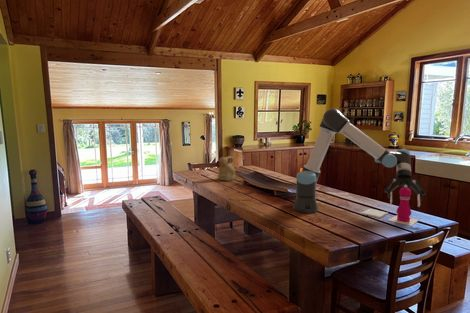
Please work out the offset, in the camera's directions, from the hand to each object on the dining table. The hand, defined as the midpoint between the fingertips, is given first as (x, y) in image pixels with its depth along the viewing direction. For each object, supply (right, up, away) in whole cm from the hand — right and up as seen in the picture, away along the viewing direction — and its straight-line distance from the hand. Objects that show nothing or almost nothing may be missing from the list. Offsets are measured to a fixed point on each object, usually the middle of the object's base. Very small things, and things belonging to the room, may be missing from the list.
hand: (404, 204), depth 174 cm
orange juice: (-41, -2, +60) cm, 73 cm away
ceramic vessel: (-100, +5, +118) cm, 155 cm away
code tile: (+1, -9, +3) cm, 10 cm away
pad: (-10, -8, +15) cm, 20 cm away
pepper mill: (+1, -9, +3) cm, 10 cm away
